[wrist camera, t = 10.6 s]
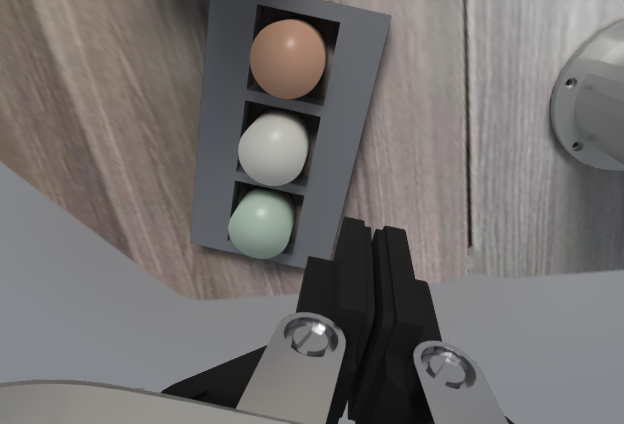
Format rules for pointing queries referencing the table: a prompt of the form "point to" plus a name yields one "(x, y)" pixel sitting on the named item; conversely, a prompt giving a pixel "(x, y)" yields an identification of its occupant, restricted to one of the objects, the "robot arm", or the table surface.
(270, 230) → the sage egg
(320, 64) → the terracotta egg
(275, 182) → the cream egg
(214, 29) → the pebble holder tray
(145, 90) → the table surface
